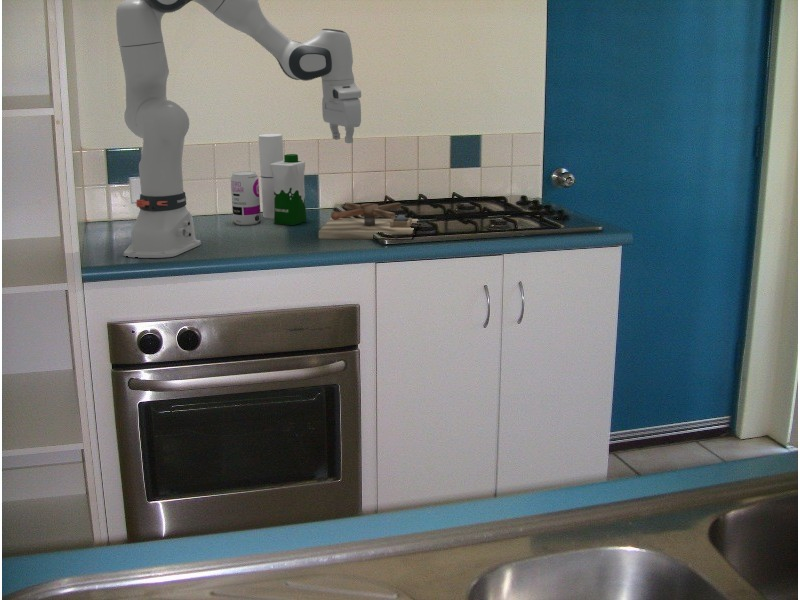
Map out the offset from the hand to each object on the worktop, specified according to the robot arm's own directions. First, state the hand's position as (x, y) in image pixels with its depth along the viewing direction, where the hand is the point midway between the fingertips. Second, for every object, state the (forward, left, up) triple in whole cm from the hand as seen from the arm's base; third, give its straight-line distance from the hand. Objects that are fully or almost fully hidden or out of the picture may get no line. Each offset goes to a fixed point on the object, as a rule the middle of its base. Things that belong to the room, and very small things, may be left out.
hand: (342, 141), depth 254 cm
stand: (+1, -7, -26) cm, 27 cm away
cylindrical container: (+22, +26, -26) cm, 43 cm away
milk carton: (+13, +19, -26) cm, 35 cm away
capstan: (0, -6, -21) cm, 22 cm away
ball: (+1, -16, -22) cm, 27 cm away
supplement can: (+12, +32, -26) cm, 43 cm away
